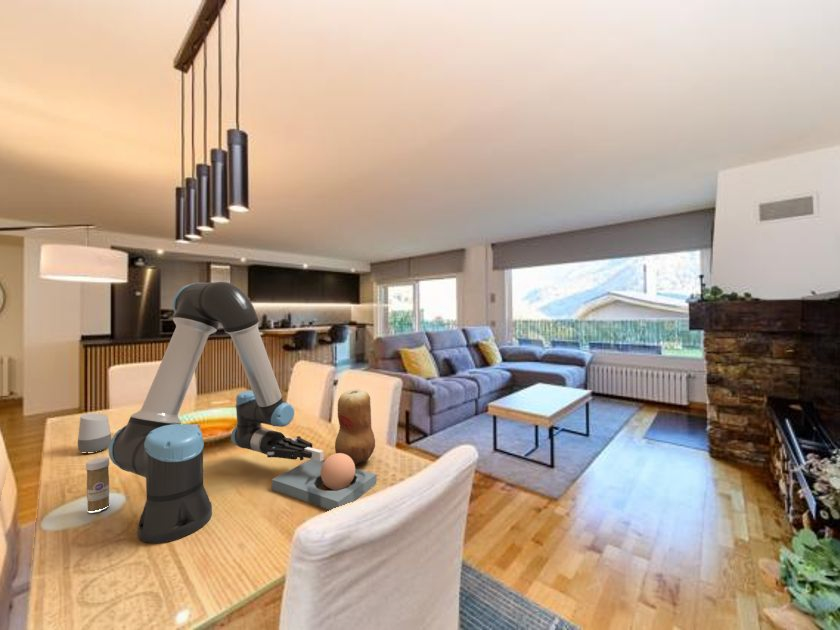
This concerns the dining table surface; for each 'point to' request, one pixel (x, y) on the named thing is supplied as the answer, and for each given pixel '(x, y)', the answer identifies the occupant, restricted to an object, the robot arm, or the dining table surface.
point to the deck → (308, 478)
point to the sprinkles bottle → (97, 483)
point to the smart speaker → (93, 433)
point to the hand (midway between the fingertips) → (321, 456)
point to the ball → (337, 471)
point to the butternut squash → (355, 426)
